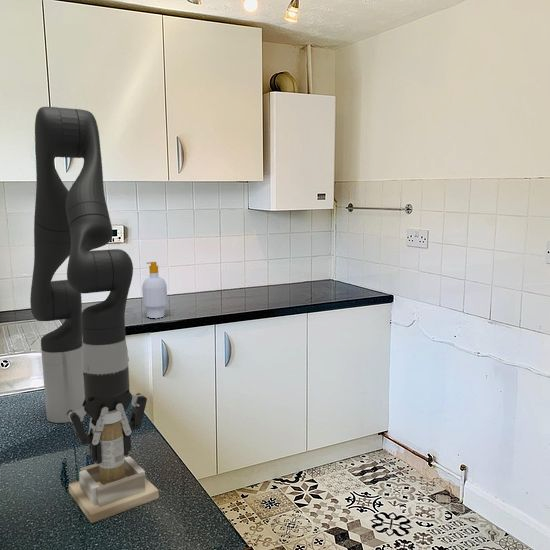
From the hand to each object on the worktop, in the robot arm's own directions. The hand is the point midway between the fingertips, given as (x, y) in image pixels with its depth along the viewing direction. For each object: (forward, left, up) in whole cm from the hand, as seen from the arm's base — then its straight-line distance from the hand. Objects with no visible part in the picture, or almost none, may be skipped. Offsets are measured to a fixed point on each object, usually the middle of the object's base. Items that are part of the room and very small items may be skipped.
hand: (111, 457), depth 96 cm
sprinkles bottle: (0, 0, -4) cm, 4 cm away
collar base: (0, 0, -7) cm, 7 cm away
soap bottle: (-124, +66, -7) cm, 141 cm away
